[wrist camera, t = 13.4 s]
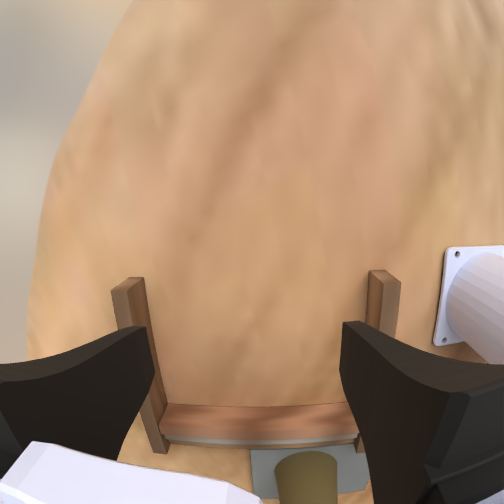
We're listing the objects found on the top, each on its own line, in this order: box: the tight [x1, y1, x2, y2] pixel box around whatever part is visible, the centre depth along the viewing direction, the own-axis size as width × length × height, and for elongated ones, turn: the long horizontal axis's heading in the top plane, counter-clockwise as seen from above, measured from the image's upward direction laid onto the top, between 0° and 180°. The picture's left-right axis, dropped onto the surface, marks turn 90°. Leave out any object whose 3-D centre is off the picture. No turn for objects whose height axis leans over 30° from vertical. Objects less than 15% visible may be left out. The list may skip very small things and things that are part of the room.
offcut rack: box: [111, 270, 401, 454], centre depth 21 cm, size 18×15×3 cm
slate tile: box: [250, 442, 370, 499], centre depth 25 cm, size 12×9×1 cm
